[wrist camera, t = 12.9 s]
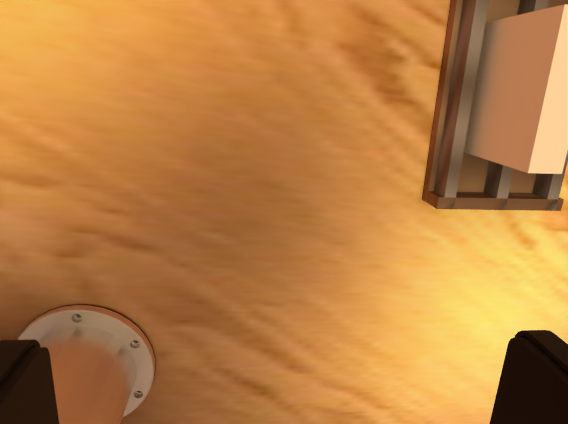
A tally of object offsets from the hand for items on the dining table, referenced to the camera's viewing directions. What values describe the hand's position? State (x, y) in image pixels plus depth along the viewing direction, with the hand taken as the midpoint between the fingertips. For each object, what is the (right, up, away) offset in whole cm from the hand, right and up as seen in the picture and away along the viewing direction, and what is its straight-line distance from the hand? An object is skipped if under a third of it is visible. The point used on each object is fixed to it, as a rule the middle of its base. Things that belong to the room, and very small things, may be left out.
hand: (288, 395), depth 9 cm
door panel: (+16, +14, +26) cm, 34 cm away
